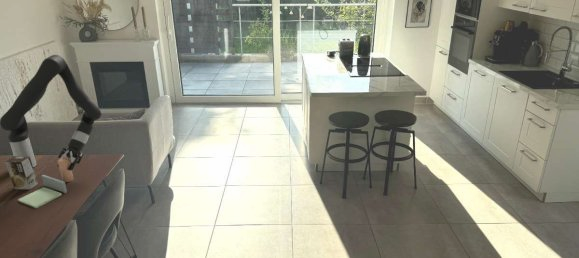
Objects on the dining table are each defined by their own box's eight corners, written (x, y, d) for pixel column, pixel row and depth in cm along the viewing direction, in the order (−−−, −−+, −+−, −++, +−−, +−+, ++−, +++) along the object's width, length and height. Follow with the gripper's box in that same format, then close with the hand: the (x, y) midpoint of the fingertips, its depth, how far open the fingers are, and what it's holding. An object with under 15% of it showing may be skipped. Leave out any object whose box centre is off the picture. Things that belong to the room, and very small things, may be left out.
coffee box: (38, 183, 207) (30, 156, 201) (30, 189, 201) (21, 162, 195) (22, 182, 208) (14, 155, 202) (13, 189, 202) (4, 161, 196)
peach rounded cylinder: (60, 181, 209) (55, 161, 204) (69, 176, 213) (64, 157, 209) (67, 183, 207) (61, 163, 202) (75, 178, 211) (70, 158, 207)
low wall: (44, 185, 205) (41, 175, 202) (46, 184, 206) (43, 174, 203) (65, 193, 198) (62, 182, 195) (67, 191, 199) (64, 181, 196)
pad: (18, 201, 191) (18, 199, 191) (44, 188, 202) (43, 187, 202) (36, 208, 185) (35, 206, 185) (61, 194, 196) (61, 193, 196)
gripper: (64, 135, 212) (49, 163, 207) (82, 140, 206) (67, 169, 201) (75, 141, 218) (61, 168, 213) (92, 145, 212) (78, 173, 207)
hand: (64, 168), depth 207 cm, fingers open, 8 cm apart
